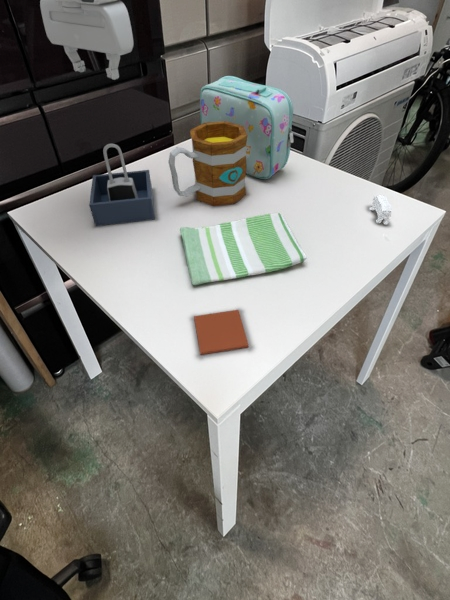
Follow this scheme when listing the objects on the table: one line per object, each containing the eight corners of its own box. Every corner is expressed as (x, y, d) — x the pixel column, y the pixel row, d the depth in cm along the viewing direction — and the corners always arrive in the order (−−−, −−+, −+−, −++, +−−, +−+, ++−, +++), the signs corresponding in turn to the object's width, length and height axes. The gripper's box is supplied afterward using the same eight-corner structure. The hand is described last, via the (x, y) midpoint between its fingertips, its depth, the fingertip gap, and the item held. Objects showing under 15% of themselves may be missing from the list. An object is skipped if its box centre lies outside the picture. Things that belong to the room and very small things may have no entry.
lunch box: (295, 173, 101) (306, 86, 86) (272, 188, 96) (279, 98, 80) (222, 145, 114) (221, 65, 98) (199, 157, 109) (193, 74, 93)
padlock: (139, 198, 92) (126, 138, 81) (139, 208, 89) (126, 146, 79) (111, 201, 92) (95, 141, 81) (111, 211, 89) (93, 149, 78)
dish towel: (179, 233, 83) (178, 223, 81) (279, 219, 86) (280, 208, 84) (192, 288, 71) (191, 277, 69) (308, 268, 74) (310, 258, 72)
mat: (200, 354, 60) (200, 352, 60) (194, 318, 66) (194, 316, 65) (248, 347, 61) (248, 345, 61) (238, 311, 67) (238, 309, 66)
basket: (95, 226, 86) (89, 205, 81) (98, 195, 95) (92, 175, 91) (155, 219, 87) (151, 198, 83) (152, 189, 96) (148, 169, 92)
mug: (228, 174, 101) (227, 116, 91) (257, 196, 93) (260, 135, 83) (163, 194, 95) (154, 135, 84) (187, 220, 87) (181, 158, 76)
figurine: (377, 226, 84) (383, 208, 81) (367, 206, 89) (372, 189, 86) (388, 225, 84) (394, 208, 81) (377, 206, 89) (383, 188, 86)
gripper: (22, -16, 67) (50, 71, 77) (103, -9, 59) (122, 87, 69) (50, -20, 71) (73, 63, 81) (130, -14, 63) (144, 78, 73)
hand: (96, 74), depth 75 cm, fingers open, 8 cm apart
